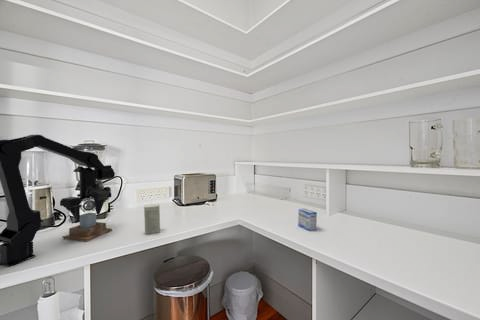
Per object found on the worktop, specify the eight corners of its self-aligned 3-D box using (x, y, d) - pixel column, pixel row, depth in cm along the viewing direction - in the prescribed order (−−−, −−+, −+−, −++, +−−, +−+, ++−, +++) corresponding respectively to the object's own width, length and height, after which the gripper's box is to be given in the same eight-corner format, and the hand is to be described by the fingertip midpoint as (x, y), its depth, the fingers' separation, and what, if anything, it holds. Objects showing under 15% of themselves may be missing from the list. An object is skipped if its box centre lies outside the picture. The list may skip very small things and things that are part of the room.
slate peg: (87, 234, 83) (87, 215, 83) (79, 233, 83) (79, 215, 83) (96, 231, 87) (96, 213, 86) (88, 230, 87) (88, 212, 87)
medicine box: (297, 226, 98) (298, 208, 98) (304, 224, 100) (304, 207, 100) (310, 231, 91) (310, 213, 91) (316, 229, 93) (317, 211, 93)
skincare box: (160, 229, 92) (160, 203, 92) (159, 232, 88) (159, 205, 88) (145, 231, 90) (145, 204, 90) (144, 234, 86) (144, 207, 85)
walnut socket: (86, 241, 78) (86, 232, 78) (62, 239, 80) (62, 229, 80) (111, 230, 90) (111, 222, 90) (90, 228, 92) (90, 220, 92)
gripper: (81, 185, 74) (82, 226, 74) (121, 179, 92) (121, 212, 93) (58, 184, 76) (59, 224, 77) (101, 179, 94) (101, 211, 95)
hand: (88, 217), depth 85 cm, fingers open, 9 cm apart
